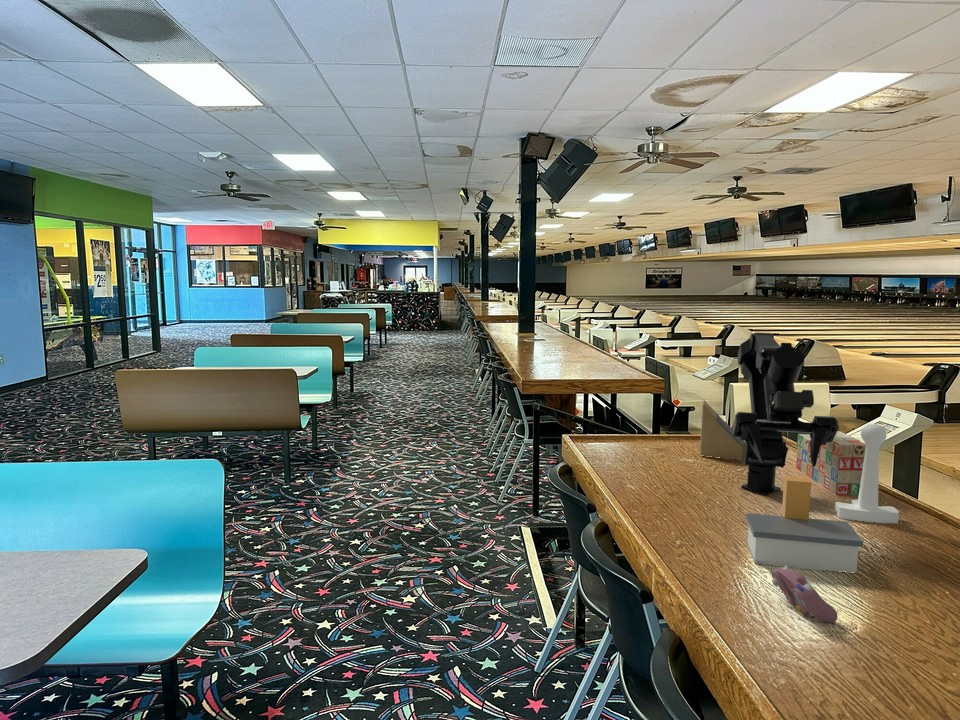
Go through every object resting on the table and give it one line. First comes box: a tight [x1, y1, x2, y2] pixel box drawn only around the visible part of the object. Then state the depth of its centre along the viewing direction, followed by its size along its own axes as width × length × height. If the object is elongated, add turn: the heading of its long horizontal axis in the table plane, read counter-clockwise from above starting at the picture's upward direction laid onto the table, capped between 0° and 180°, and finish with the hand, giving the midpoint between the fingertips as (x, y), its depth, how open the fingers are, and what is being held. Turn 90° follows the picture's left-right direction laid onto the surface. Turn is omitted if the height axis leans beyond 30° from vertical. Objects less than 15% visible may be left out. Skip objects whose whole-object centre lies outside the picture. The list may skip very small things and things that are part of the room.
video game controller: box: [770, 566, 838, 624], centre depth 98 cm, size 10×5×7 cm, turn 5°
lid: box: [745, 476, 864, 548], centre depth 115 cm, size 11×17×9 cm, turn 76°
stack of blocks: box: [795, 430, 866, 496], centre depth 159 cm, size 21×6×12 cm, turn 178°
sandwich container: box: [699, 399, 745, 461], centre depth 181 cm, size 9×15×15 cm, turn 72°
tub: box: [747, 526, 860, 574], centre depth 115 cm, size 8×16×5 cm, turn 76°
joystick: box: [834, 423, 900, 524], centre depth 135 cm, size 11×8×20 cm
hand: (788, 464), depth 126 cm, fingers open, 9 cm apart
